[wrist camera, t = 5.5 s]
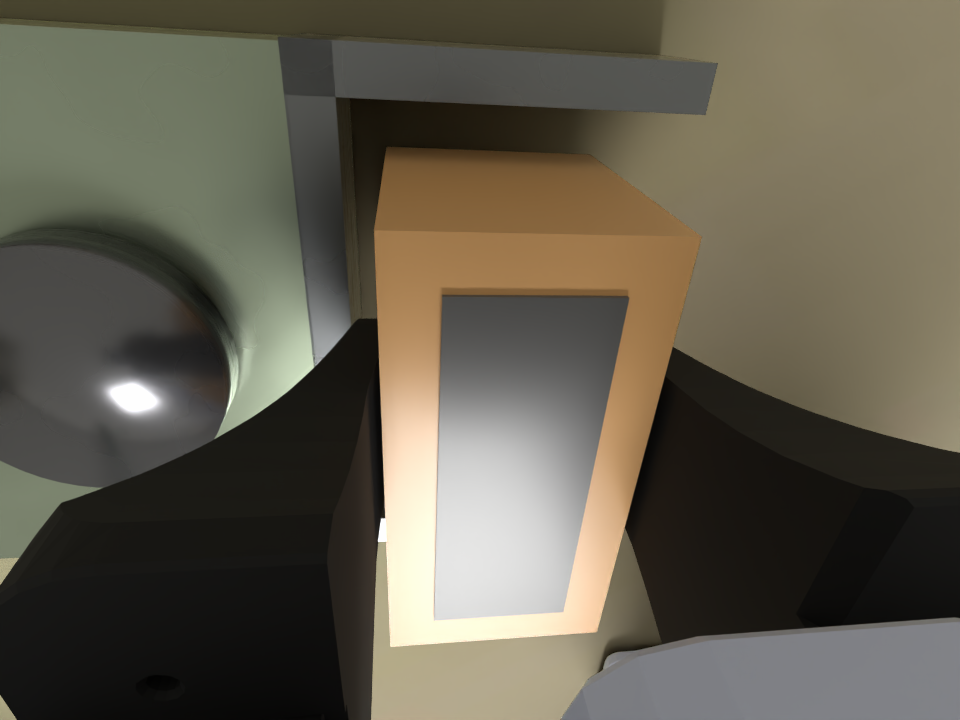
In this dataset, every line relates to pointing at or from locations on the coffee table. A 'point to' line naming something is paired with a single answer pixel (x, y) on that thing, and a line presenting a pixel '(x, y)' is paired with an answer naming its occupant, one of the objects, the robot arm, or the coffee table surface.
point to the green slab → (207, 224)
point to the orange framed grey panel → (515, 383)
